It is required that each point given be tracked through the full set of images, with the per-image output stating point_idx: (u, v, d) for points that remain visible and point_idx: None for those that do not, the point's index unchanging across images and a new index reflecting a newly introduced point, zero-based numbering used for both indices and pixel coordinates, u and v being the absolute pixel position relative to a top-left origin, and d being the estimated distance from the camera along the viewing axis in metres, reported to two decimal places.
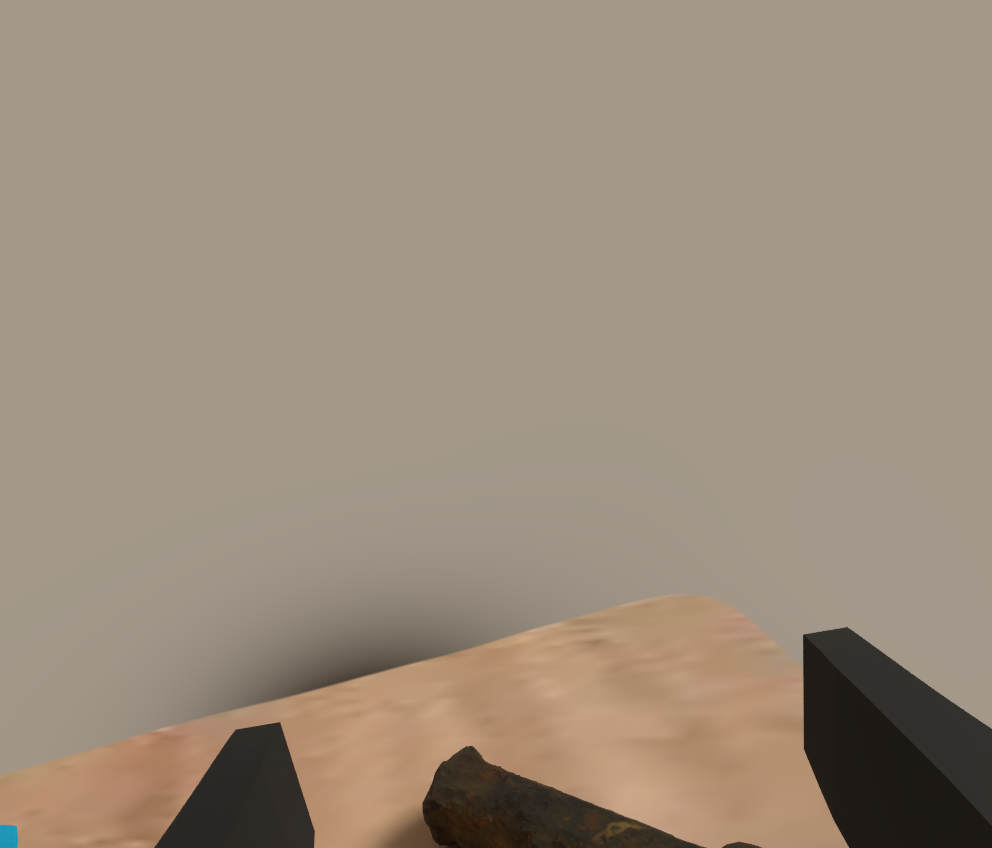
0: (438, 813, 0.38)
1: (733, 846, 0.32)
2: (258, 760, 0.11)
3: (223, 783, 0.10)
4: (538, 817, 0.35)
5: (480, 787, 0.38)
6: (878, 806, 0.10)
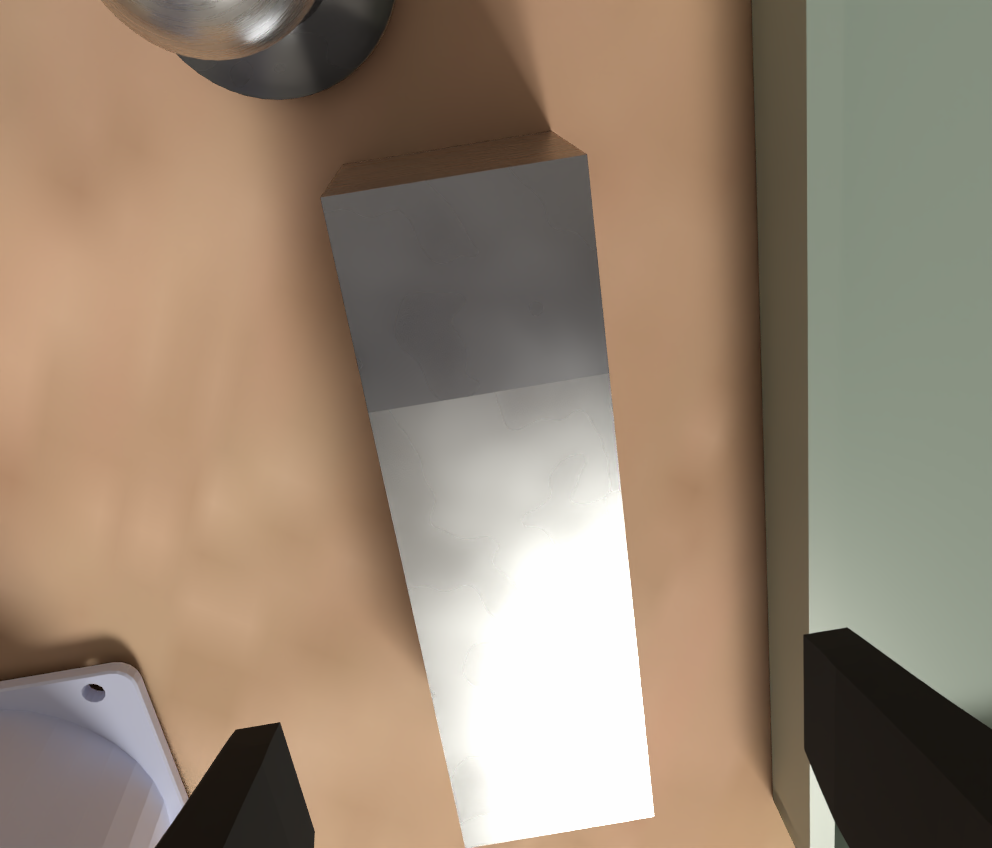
0: None
1: None
2: (258, 760, 0.11)
3: (223, 783, 0.10)
4: None
5: None
6: (878, 805, 0.10)
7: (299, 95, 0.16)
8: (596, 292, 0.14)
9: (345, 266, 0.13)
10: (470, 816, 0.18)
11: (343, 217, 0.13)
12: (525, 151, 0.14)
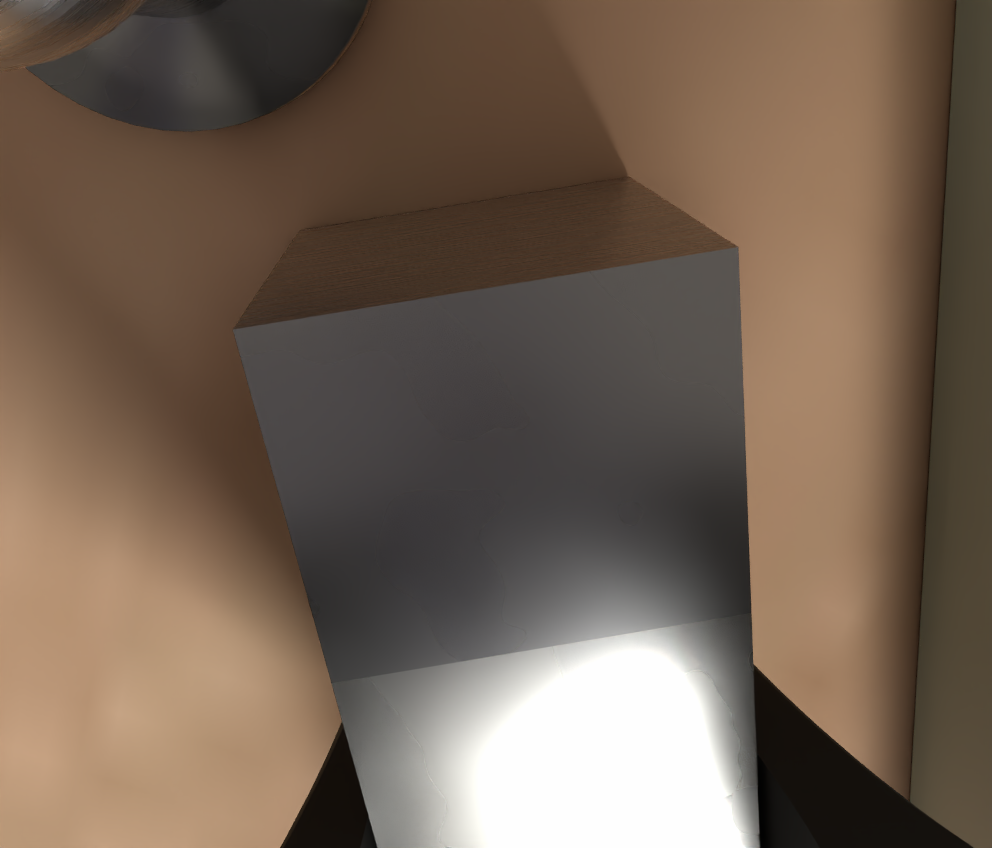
0: None
1: None
2: None
3: (351, 761, 0.10)
4: None
5: None
6: None
7: (223, 124, 0.09)
8: (740, 485, 0.08)
9: (284, 449, 0.07)
10: None
11: (278, 366, 0.07)
12: (605, 226, 0.08)
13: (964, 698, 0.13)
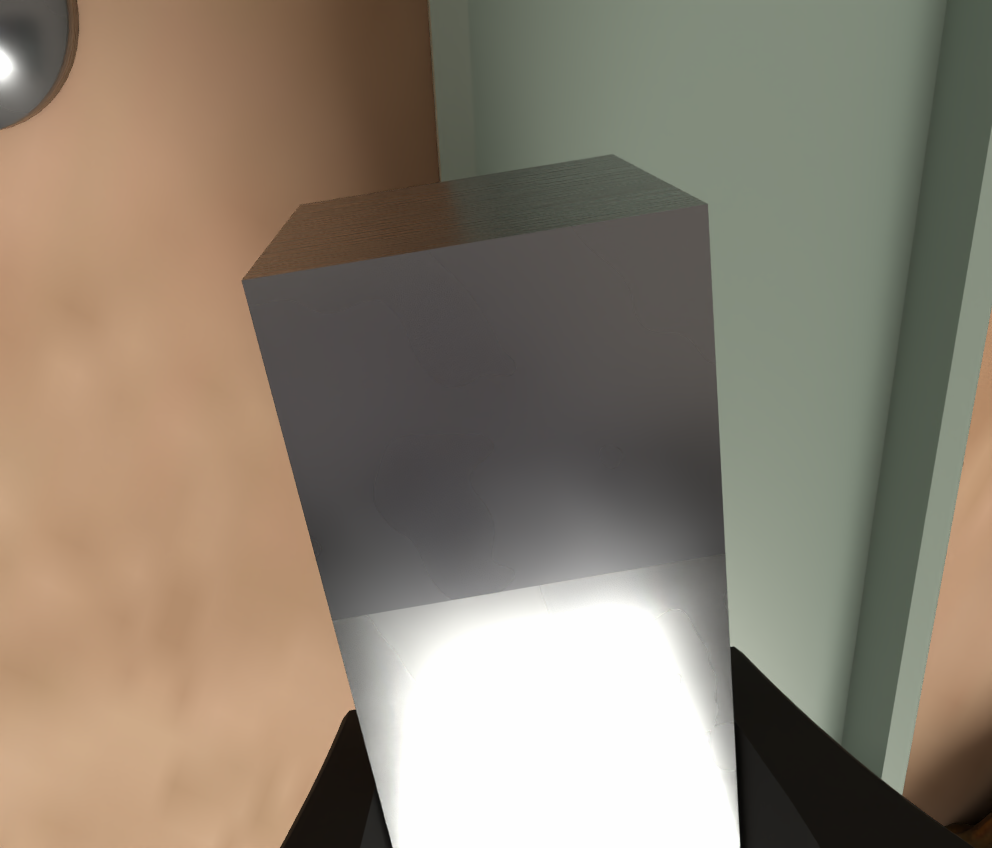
0: None
1: None
2: None
3: (351, 761, 0.10)
4: None
5: None
6: (748, 828, 0.10)
7: None
8: (712, 431, 0.08)
9: (288, 394, 0.08)
10: None
11: (282, 315, 0.08)
12: (587, 192, 0.09)
13: None
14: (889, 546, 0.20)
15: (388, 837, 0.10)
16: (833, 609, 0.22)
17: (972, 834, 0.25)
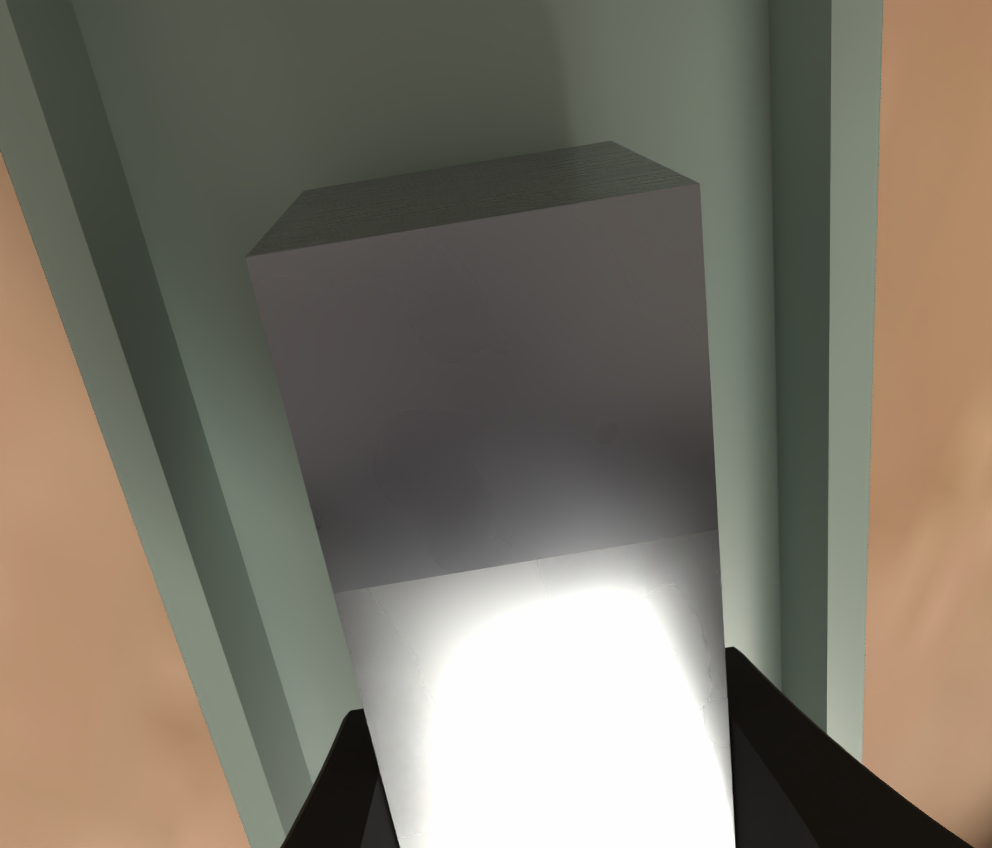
0: None
1: None
2: None
3: (352, 761, 0.10)
4: None
5: None
6: (748, 828, 0.10)
7: None
8: (705, 408, 0.09)
9: (291, 370, 0.08)
10: None
11: (285, 291, 0.08)
12: (584, 175, 0.09)
13: None
14: (799, 692, 0.16)
15: (388, 837, 0.10)
16: None
17: None
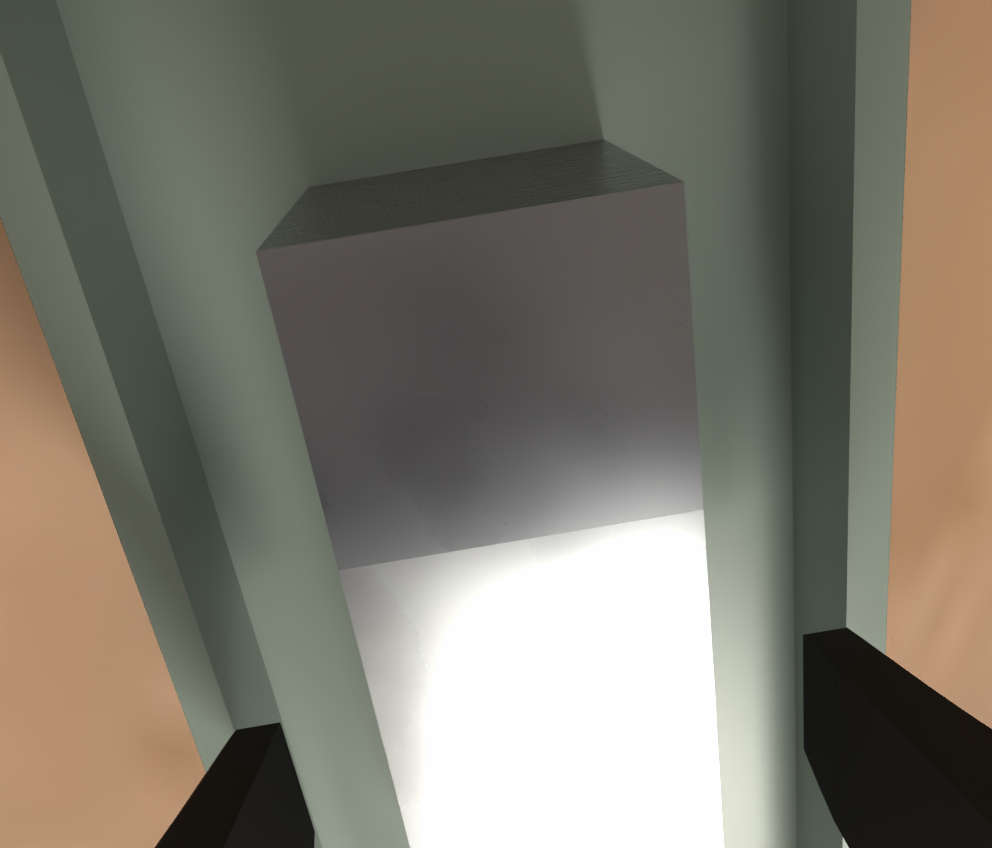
0: None
1: None
2: (258, 760, 0.11)
3: (223, 783, 0.10)
4: None
5: None
6: (877, 806, 0.10)
7: None
8: (691, 393, 0.09)
9: (298, 357, 0.09)
10: None
11: (294, 284, 0.08)
12: (576, 173, 0.10)
13: None
14: None
15: None
16: (760, 781, 0.17)
17: None
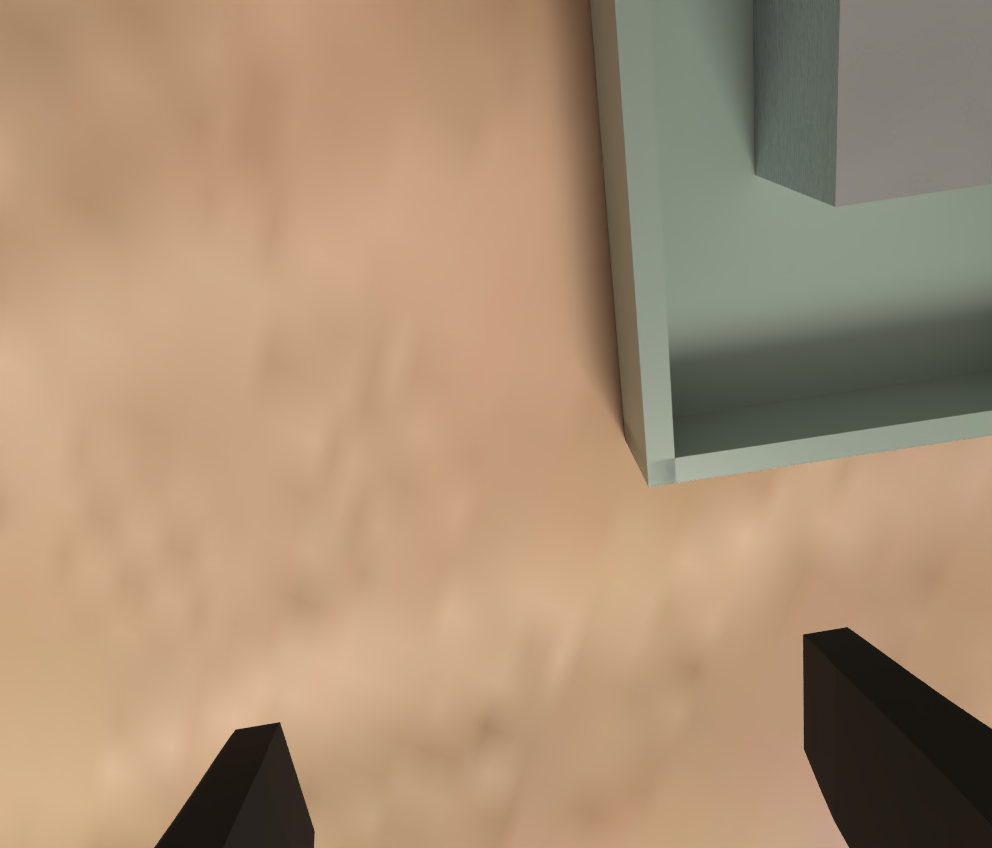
0: None
1: None
2: (258, 760, 0.11)
3: (223, 783, 0.10)
4: None
5: None
6: (878, 806, 0.10)
7: None
8: None
9: None
10: (850, 151, 0.15)
11: None
12: None
13: None
14: None
15: None
16: None
17: None
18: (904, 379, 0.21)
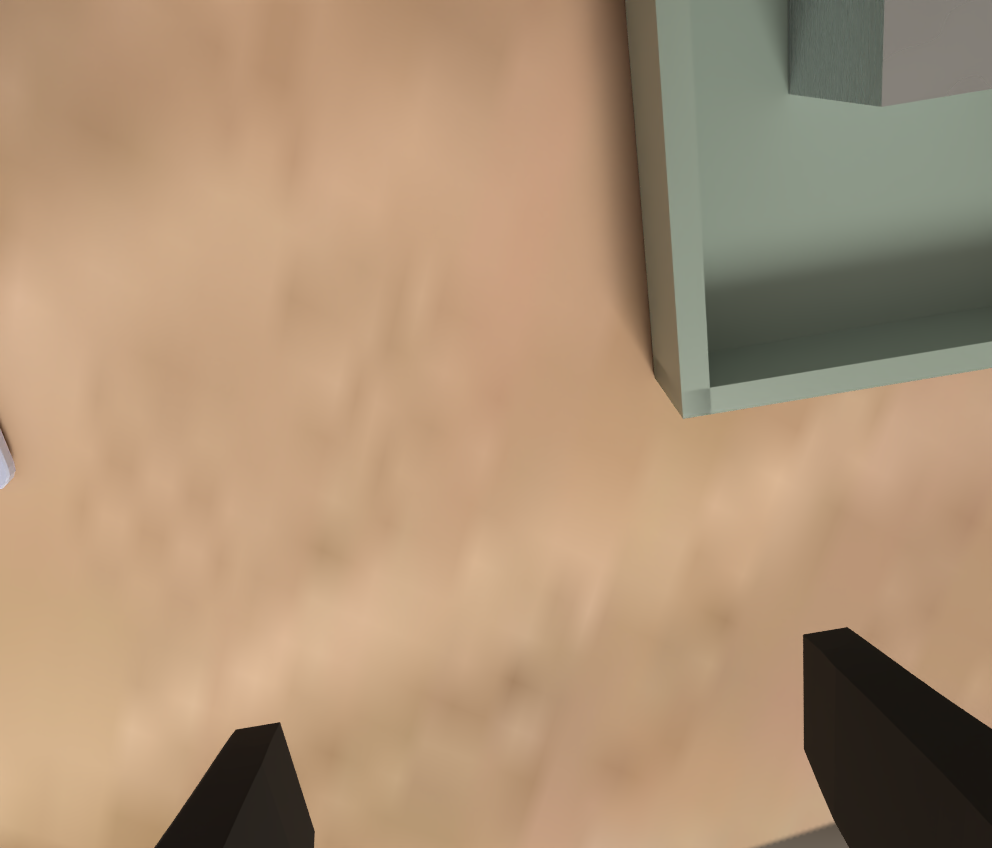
0: None
1: None
2: (258, 760, 0.11)
3: (223, 783, 0.10)
4: None
5: None
6: (877, 806, 0.10)
7: None
8: None
9: None
10: (897, 47, 0.14)
11: None
12: None
13: None
14: None
15: None
16: None
17: None
18: (941, 309, 0.20)
